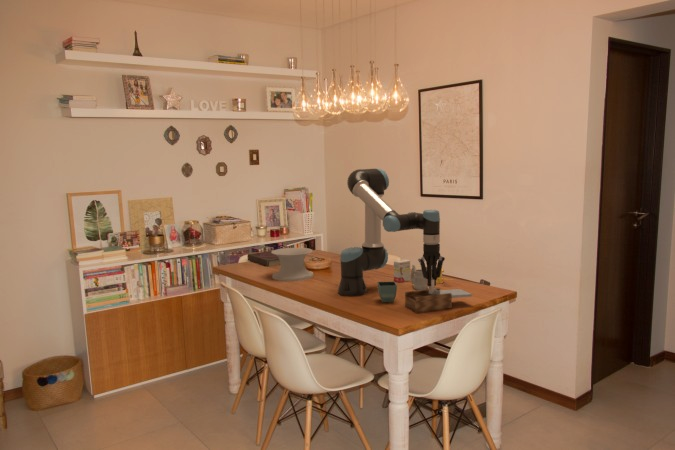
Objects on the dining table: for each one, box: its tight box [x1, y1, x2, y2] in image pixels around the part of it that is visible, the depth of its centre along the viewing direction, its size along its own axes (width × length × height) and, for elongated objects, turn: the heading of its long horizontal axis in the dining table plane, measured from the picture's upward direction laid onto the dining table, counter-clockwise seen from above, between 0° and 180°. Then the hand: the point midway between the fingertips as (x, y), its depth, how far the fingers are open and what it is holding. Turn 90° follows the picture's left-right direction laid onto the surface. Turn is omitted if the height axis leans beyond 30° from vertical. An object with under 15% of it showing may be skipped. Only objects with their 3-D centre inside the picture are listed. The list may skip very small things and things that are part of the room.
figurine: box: [436, 266, 454, 284], centre depth 300 cm, size 12×12×9 cm
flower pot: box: [376, 281, 398, 303], centre depth 266 cm, size 9×9×9 cm
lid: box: [428, 288, 473, 299], centre depth 256 cm, size 18×10×3 cm, turn 108°
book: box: [246, 250, 281, 268], centre depth 376 cm, size 30×22×5 cm
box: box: [404, 287, 453, 314], centre depth 253 cm, size 18×12×7 cm, turn 108°
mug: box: [410, 264, 429, 291], centre depth 291 cm, size 8×12×12 cm, turn 31°
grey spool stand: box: [271, 247, 314, 282], centre depth 326 cm, size 25×25×16 cm
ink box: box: [393, 258, 411, 283], centre depth 307 cm, size 9×5×12 cm, turn 120°
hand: (431, 292), depth 253 cm, fingers closed
